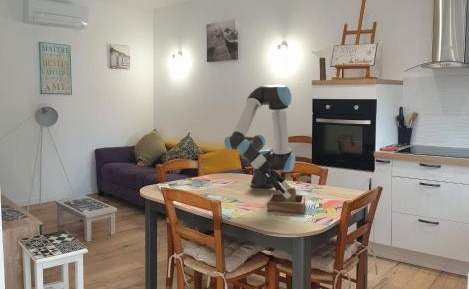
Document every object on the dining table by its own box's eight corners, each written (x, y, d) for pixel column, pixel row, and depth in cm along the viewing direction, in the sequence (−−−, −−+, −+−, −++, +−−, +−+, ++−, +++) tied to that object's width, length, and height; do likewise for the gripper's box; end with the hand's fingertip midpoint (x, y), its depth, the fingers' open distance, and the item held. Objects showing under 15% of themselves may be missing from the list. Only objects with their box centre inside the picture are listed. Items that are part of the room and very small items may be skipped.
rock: (279, 205, 214) (298, 202, 214) (275, 189, 218) (294, 186, 218) (278, 213, 223) (296, 210, 224) (274, 198, 227) (292, 195, 228)
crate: (271, 202, 232) (271, 193, 231) (305, 204, 228) (305, 195, 227) (267, 211, 214) (267, 201, 214) (303, 213, 211) (303, 203, 210)
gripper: (259, 165, 234) (287, 193, 233) (252, 174, 210) (282, 205, 209) (269, 156, 232) (296, 184, 231) (263, 163, 208) (293, 195, 207)
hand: (290, 194), depth 220 cm, fingers open, 13 cm apart
